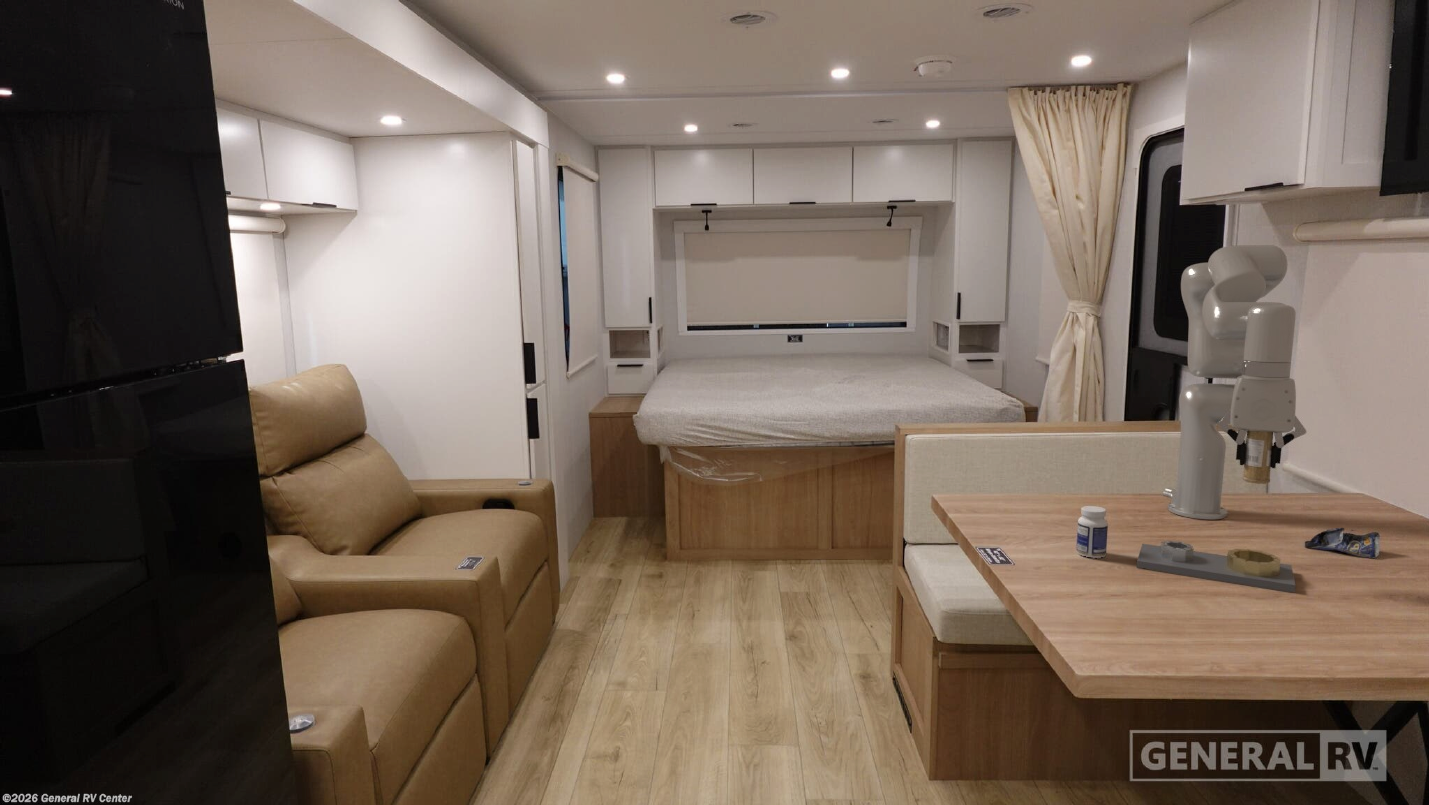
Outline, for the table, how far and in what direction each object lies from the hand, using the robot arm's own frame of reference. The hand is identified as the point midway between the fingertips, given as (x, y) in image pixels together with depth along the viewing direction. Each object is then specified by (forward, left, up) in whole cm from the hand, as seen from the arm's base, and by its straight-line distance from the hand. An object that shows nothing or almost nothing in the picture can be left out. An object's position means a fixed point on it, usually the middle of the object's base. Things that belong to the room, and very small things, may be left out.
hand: (1257, 464), depth 159 cm
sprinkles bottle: (0, 0, -4) cm, 4 cm away
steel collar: (-9, -8, -20) cm, 24 cm away
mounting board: (-4, -4, -22) cm, 23 cm away
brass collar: (+1, -1, -20) cm, 20 cm away
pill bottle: (-21, -18, -22) cm, 36 cm away
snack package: (0, +30, -22) cm, 38 cm away
